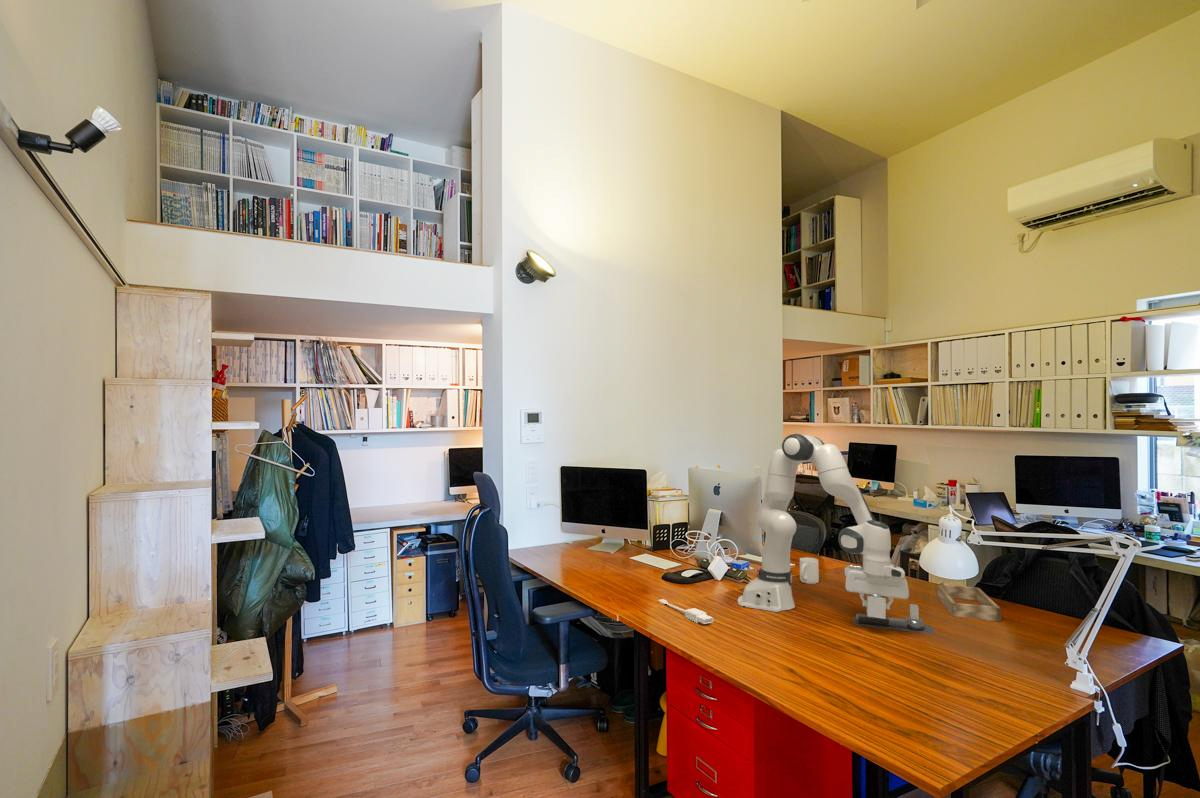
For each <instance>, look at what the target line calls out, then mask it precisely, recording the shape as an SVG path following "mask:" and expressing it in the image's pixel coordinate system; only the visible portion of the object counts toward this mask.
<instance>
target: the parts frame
mask: <svg viewBox="0 0 1200 798" xmlns="http://www.w3.org/2000/svg"><path fill="white" fill-rule="evenodd" d="M936 596H937V597H938V599H939V600H940V601H941V603H942V604H943V606H945V608H946V609H947V610H948V612H949V613H950V614H951V616H953V617H958V618H959V617H961V618H971V619H980V620H984V621H993V622H1000V623H1001V622H1002V613H1001V612H1002V608H1001V607H1000V606H999V605H998V604H997V603H996V602H994V601H993V599H992V598H991V597H990V596H989V595H988V594H986V593H985V592H984V591H983V590H982V589H981V588H980V587H976V586H964V585H963V586H962V585H951V584H940V583H938V584H936ZM954 599H958V600H970V601H971V600H972V601H977V603H979V605H978V604H971V603H970V604H969V603H959V602H955V600H954Z"/></svg>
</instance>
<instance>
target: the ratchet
mask: <svg viewBox="0 0 1200 798" xmlns="http://www.w3.org/2000/svg"><path fill="white" fill-rule="evenodd" d="M919 613H920V611H919V605H918V604H912V603H910V604H909V616H905V618H900V617H899V618H898V617H897V618H896V617H888V616H887V615H885V619H883V618H876V617H869V616H867V613H856V614H855V615H856V616H855V618H856V621H857V623H859V624H867V625H876V626H886V627H897V628H906V629H909V630H913V631H923V630H924V625H925V620H924V619H922V618H921V617H920V618H919Z"/></svg>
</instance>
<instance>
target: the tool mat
mask: <svg viewBox="0 0 1200 798" xmlns="http://www.w3.org/2000/svg"><path fill="white" fill-rule="evenodd" d="M852 619H853V624H854V626H858V627H868V628H875V629H886V630H896V631H903V632H904V631H905V632H913V633H914V632H915V633H923V634H933V635H936V634H937V633H936V631H935V629H934V628H933V627H932V625H931V624H930V625H928V624H924V630H923V631H913V630H909V629H906V628H897V627H886V626H876V625H867V624H859V623H857V621H856V617H852Z"/></svg>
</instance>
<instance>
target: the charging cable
mask: <svg viewBox="0 0 1200 798" xmlns="http://www.w3.org/2000/svg"><path fill="white" fill-rule="evenodd" d="M658 601H659V602H661V603H664V604H667V605H666V606H668V605H669V606H668V607H671V608H674V609H676V610H678V611H681V612H683V613H684V618H685V617H686V618H688V619H690V620H689V621H691V620H692V621H691V622H693V621H694V622H693V623H695V622H696V623H695V624H700V623H701V624H703V625H706V624H711V623H714V617H712V616H711V615H708V614H707V612H706V611H704V610H701V609H698V608H696V607H693V608H687V609H683V608H680V607H678V606H676V605H674V604H672V603H669V602H668V600H666V599H663V598H662V599H658ZM658 601H657V602H658ZM686 618H685V619H686ZM688 619H687V620H688ZM698 622H700V623H698Z"/></svg>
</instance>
